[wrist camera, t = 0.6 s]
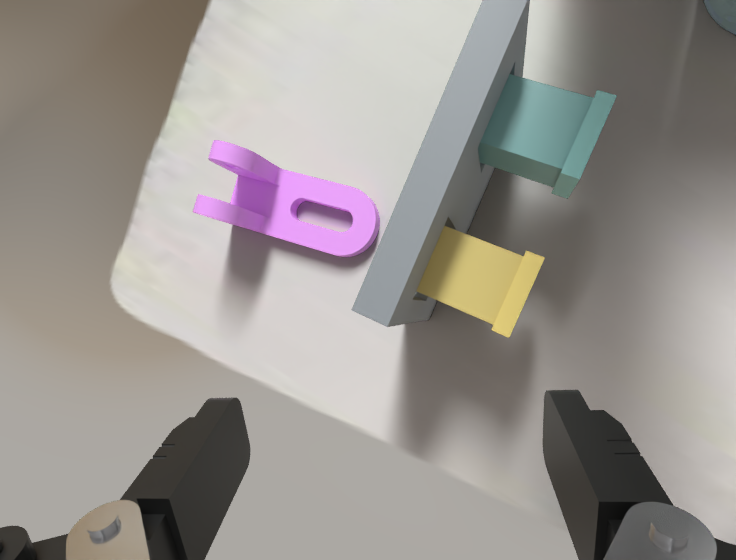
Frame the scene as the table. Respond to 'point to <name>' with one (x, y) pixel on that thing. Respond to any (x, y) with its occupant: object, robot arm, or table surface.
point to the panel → (445, 167)
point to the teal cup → (723, 13)
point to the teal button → (544, 132)
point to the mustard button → (480, 278)
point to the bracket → (288, 203)
